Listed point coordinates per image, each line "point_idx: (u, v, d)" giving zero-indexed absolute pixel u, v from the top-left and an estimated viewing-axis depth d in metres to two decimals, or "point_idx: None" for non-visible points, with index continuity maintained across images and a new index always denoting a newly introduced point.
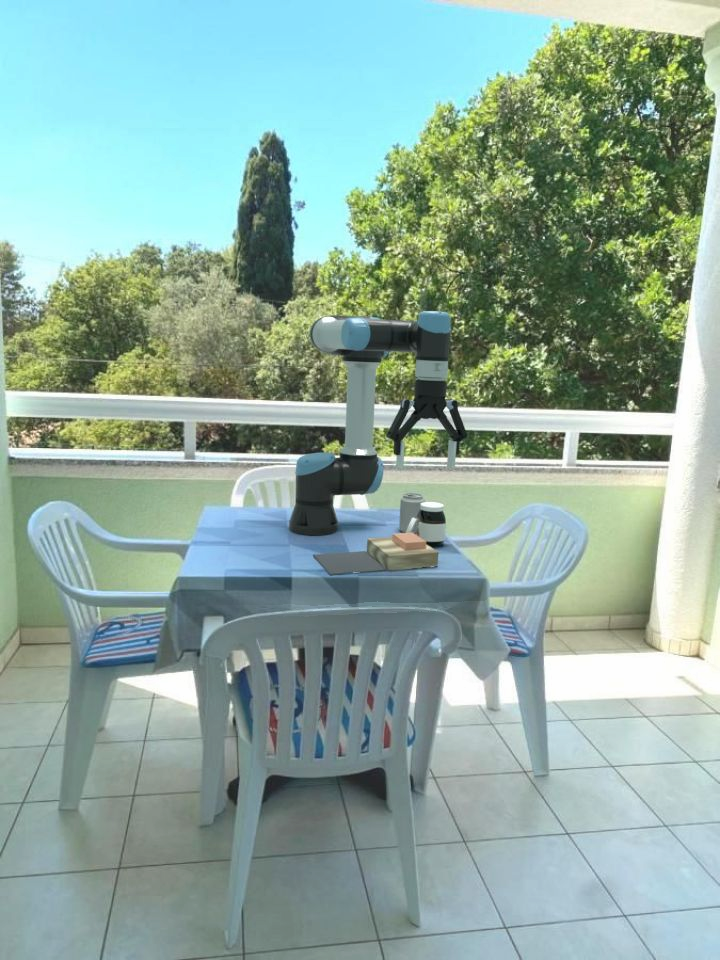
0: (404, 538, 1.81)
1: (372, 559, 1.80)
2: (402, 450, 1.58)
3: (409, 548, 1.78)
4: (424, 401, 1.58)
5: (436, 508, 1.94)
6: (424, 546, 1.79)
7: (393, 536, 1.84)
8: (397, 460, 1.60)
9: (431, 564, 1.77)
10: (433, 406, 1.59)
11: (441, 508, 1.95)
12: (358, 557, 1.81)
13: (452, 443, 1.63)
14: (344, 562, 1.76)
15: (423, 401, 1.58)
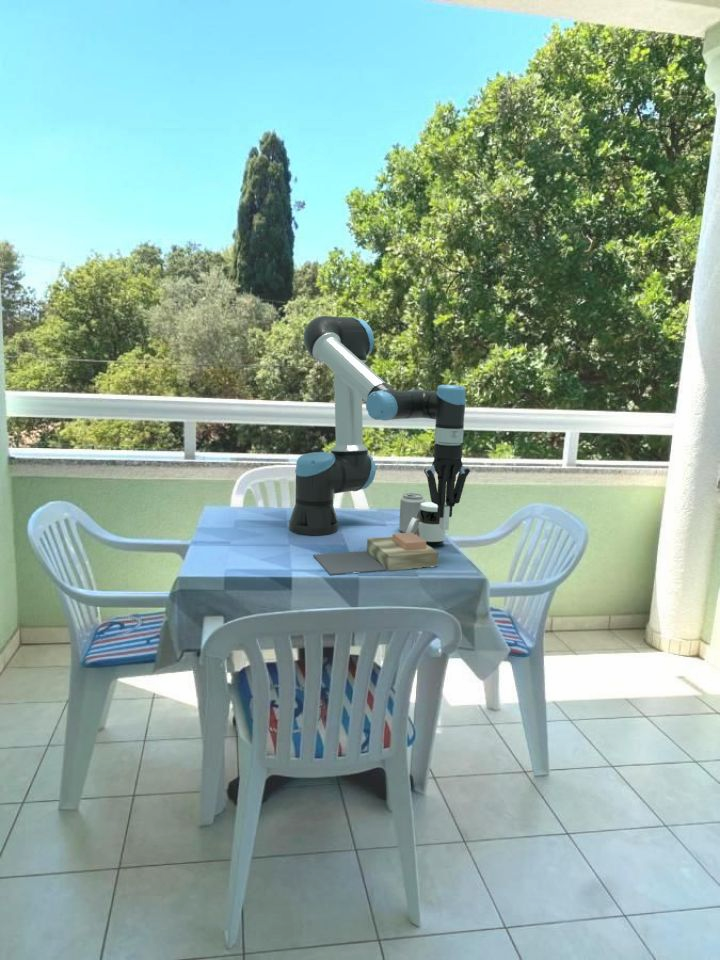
0: (404, 538, 1.81)
1: (372, 559, 1.80)
2: (445, 513, 1.82)
3: (409, 548, 1.78)
4: (441, 460, 1.79)
5: (436, 508, 1.94)
6: (424, 546, 1.79)
7: (393, 536, 1.84)
8: (440, 521, 1.85)
9: (431, 564, 1.77)
10: (451, 465, 1.81)
11: None
12: (358, 557, 1.81)
13: None
14: (344, 562, 1.76)
15: (440, 461, 1.79)
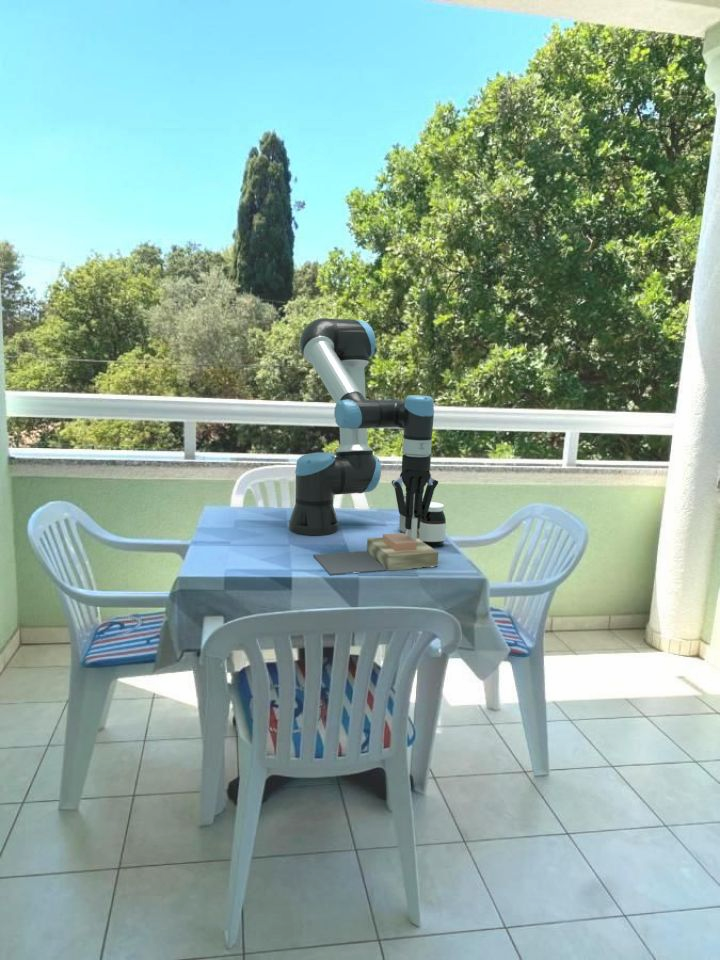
0: (394, 539, 1.80)
1: (372, 559, 1.80)
2: (413, 525, 1.80)
3: (399, 549, 1.77)
4: (408, 472, 1.77)
5: (436, 508, 1.94)
6: (414, 547, 1.78)
7: (383, 537, 1.83)
8: (408, 533, 1.83)
9: (431, 564, 1.77)
10: (419, 477, 1.78)
11: (441, 508, 1.95)
12: (358, 557, 1.81)
13: None
14: (344, 562, 1.76)
15: (408, 473, 1.77)
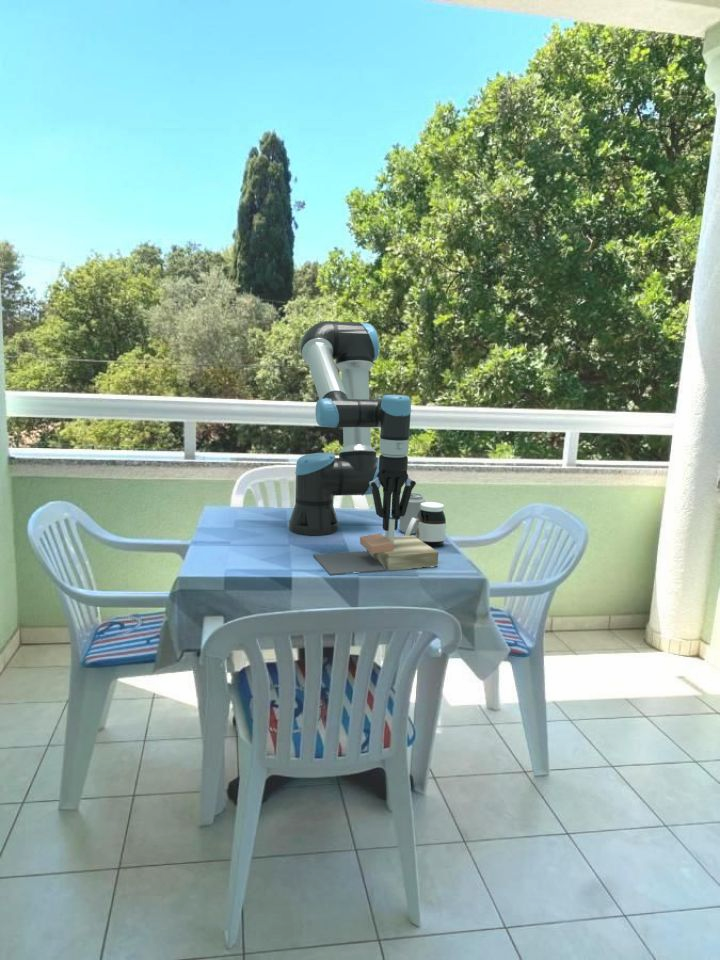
0: (371, 541, 1.77)
1: (372, 559, 1.80)
2: (390, 526, 1.78)
3: (376, 551, 1.74)
4: (385, 473, 1.75)
5: (436, 508, 1.94)
6: (391, 547, 1.76)
7: (360, 539, 1.81)
8: (385, 534, 1.80)
9: (431, 564, 1.77)
10: (397, 477, 1.76)
11: (441, 508, 1.95)
12: (358, 557, 1.81)
13: None
14: (344, 562, 1.76)
15: (384, 473, 1.75)
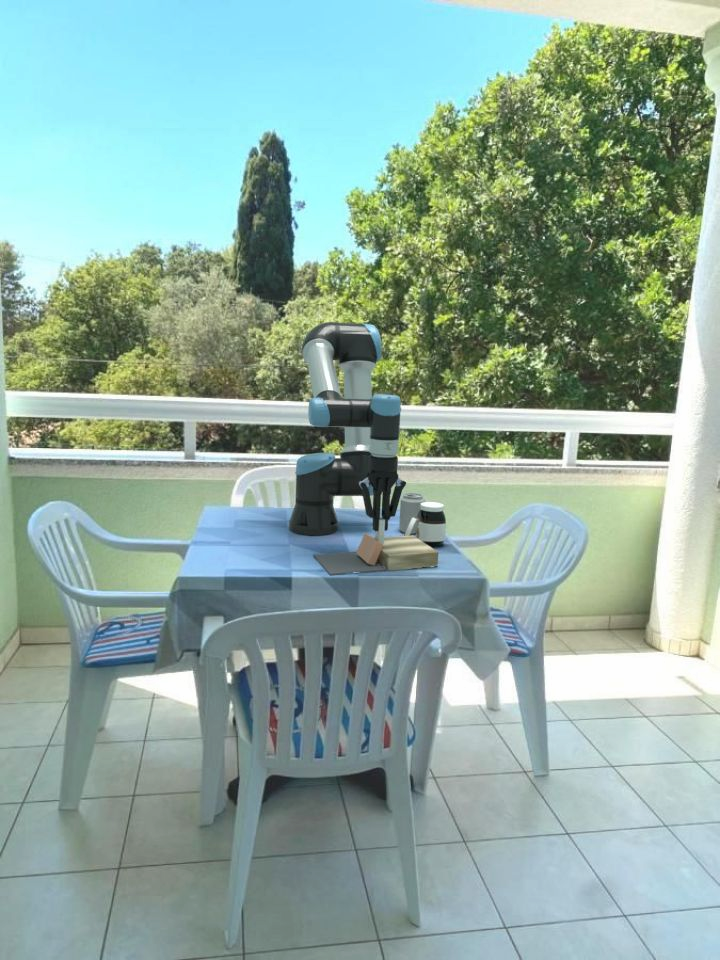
0: (364, 555, 1.78)
1: None
2: (380, 527, 1.77)
3: (374, 561, 1.75)
4: (375, 473, 1.74)
5: (436, 508, 1.94)
6: (380, 545, 1.74)
7: (359, 554, 1.82)
8: (376, 534, 1.79)
9: (431, 564, 1.77)
10: (387, 477, 1.75)
11: (441, 508, 1.95)
12: (358, 557, 1.81)
13: None
14: (344, 562, 1.76)
15: (374, 473, 1.74)
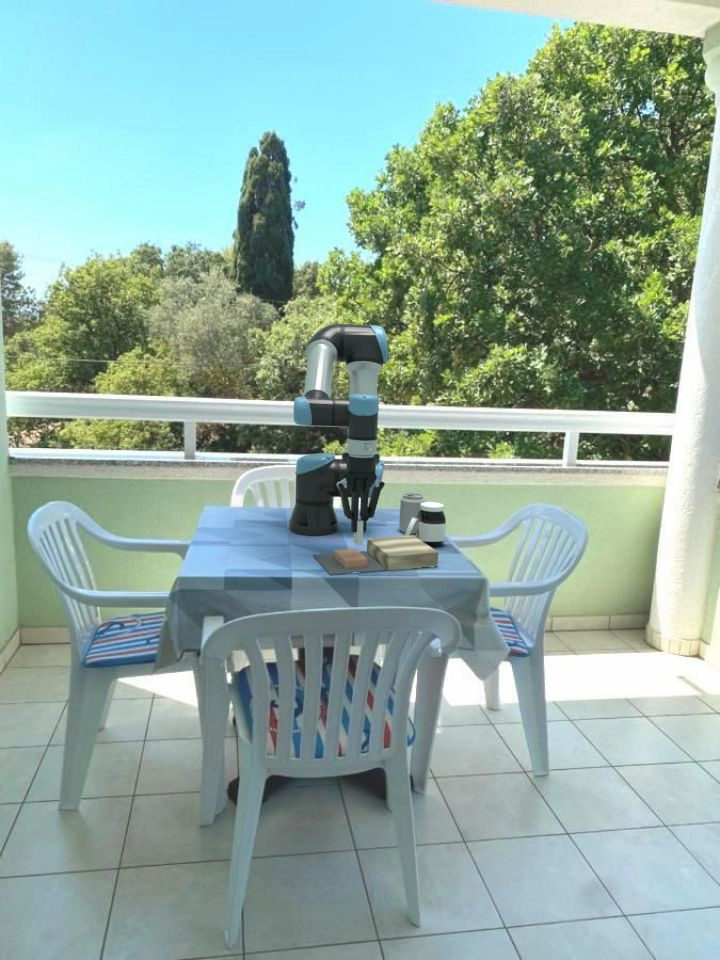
0: None
1: (372, 559, 1.80)
2: (358, 528, 1.75)
3: (362, 560, 1.74)
4: (353, 473, 1.72)
5: (436, 508, 1.94)
6: (346, 563, 1.72)
7: None
8: (354, 536, 1.77)
9: (431, 564, 1.77)
10: (365, 478, 1.73)
11: (441, 508, 1.95)
12: None
13: None
14: None
15: (352, 474, 1.72)
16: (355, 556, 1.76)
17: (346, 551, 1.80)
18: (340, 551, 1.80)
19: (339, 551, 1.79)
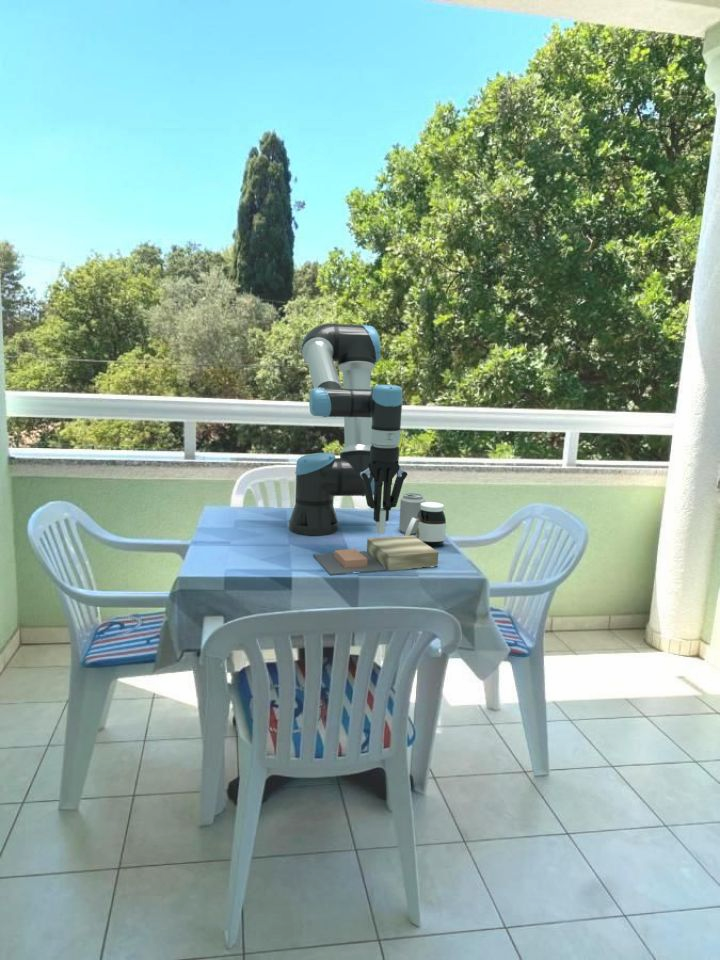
0: None
1: (372, 559, 1.80)
2: (381, 517, 1.77)
3: (362, 560, 1.74)
4: (376, 463, 1.73)
5: (436, 508, 1.94)
6: (346, 563, 1.72)
7: None
8: (377, 525, 1.79)
9: (431, 564, 1.77)
10: (388, 468, 1.75)
11: (441, 508, 1.95)
12: None
13: None
14: None
15: (375, 464, 1.73)
16: (355, 556, 1.76)
17: (346, 551, 1.80)
18: (340, 551, 1.80)
19: (339, 551, 1.79)
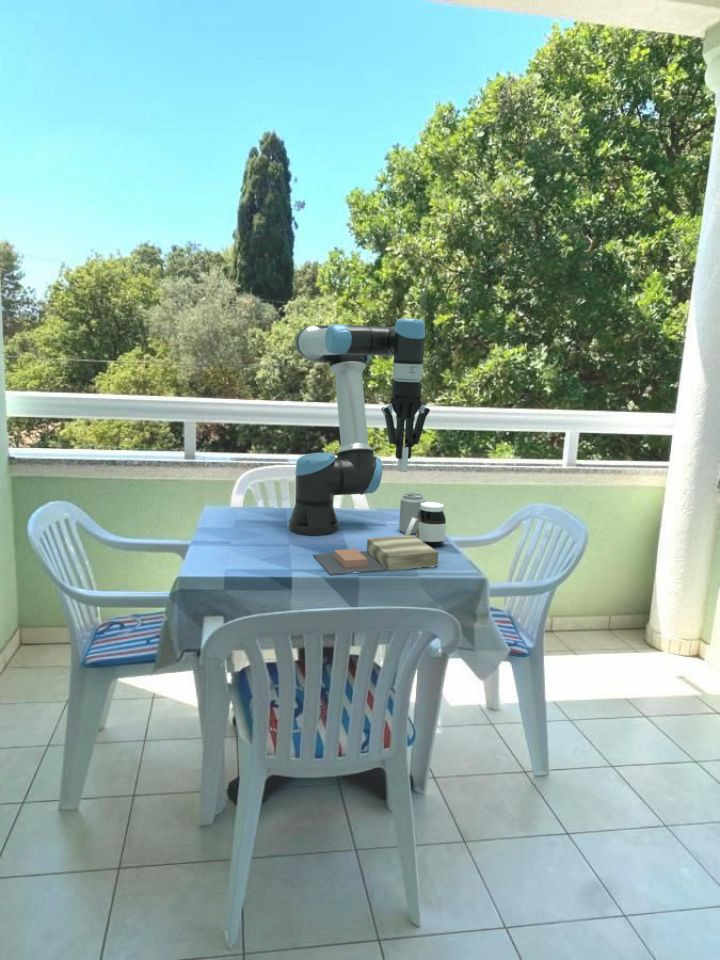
0: None
1: (372, 559, 1.80)
2: (403, 454, 1.75)
3: (362, 560, 1.74)
4: (399, 398, 1.72)
5: (436, 508, 1.94)
6: (346, 563, 1.72)
7: None
8: (399, 463, 1.77)
9: (431, 564, 1.77)
10: (410, 403, 1.73)
11: (441, 508, 1.95)
12: None
13: None
14: None
15: (398, 399, 1.72)
16: (355, 556, 1.76)
17: (346, 551, 1.80)
18: (340, 551, 1.80)
19: (339, 551, 1.79)
